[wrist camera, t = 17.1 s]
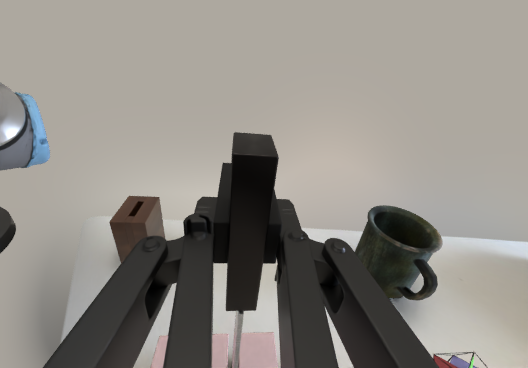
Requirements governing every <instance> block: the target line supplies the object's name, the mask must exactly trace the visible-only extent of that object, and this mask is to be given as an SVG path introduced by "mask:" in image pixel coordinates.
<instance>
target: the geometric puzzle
mask: <svg viewBox="0 0 528 368" xmlns="http://www.w3.org/2000/svg"><path fill="white" fill-rule="evenodd" d="M467 353H473V355H472V358H471V362H470V364H469V363H467V362H466V361H464V360H462V359H460V358H458V357H456V356H454V355H453V356H452V357H451V358H452V359H451V358H450V359H451V362H450V363H449V361H450V359H449V360H448V362H447V361H445V360H444V359H442V358H440V357H438V356H436V355H435V354H434V353H433V355H434V357H433V359H434V361H435V362H436V364H437V365H438V366H439V368H477V367H475V366H473V359H474V353H475V351H473V352H464V354H467ZM444 354H450V353H443V354H437V355H444ZM475 354H476V353H475ZM457 355H460V354H457ZM478 358H479V357H478ZM479 359H480V358H479ZM480 360H481V359H480ZM481 361H482V360H481ZM482 362H483V361H482ZM483 363H484V362H483ZM484 365H485V364H484ZM485 366H486V365H485Z"/></svg>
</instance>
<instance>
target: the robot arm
mask: <svg viewBox="0 0 528 368" xmlns="http://www.w3.org/2000/svg"><path fill="white" fill-rule="evenodd" d="M46 138H47V137H46V132H45V129H44V125H43V122H42V118H41V115H40V112H39V109H38V106H37V104H36V102H35V100H34V99H33V97H31V96H30V95H28V94H21V93H17V92H15V93H14V92H13V91H11V90H10V89H9V88H8V87H6V86H5V85H3V84H2V83H0V170H7V169H13V168H19V167H20V168H27V167H30V166H32V165H37V164H42V163H45V162H46V161H48V159H49V157H50V150H49V145H48V141H47V139H46ZM231 164H232V163H223V165H222V172H221V178H220V184H219V191H218V197H202V198H201V199H200V200H198V201H197V205H196V209H195V213H194V214H192V215H189V216H188V217H187V218H186V219H185V220H184V222H183V223H184V236H183V237H181V238H179V239H175V240H171V241H166V239H165V238H163V237H161V236H149V237H145V238H143V239H141V240H140V241H139V242H138V243H137V244H136V245H135V246H134V248H133V249H132V250H131V252H130V253H129V254H128V256H127V257H126V258H125V260H124V261H123V262H122V264H121V265H120V266H119V268H118V269H117V270H116V272H115V273H114V274H113V275H112V277H111V278H110V279H109V281H108V282H107V283H106V285H105V286H104V287H103V289H102V290H101V291H100V293H99V294H98V295H97V297H96V298H95V299H94V301H93V302H92V303H91V305H90V306H89V307H88V309H87V310H86V311H85V313H84V314H83V315H82V317H81V318H80V319H79V320H78V322H77V323H76V324H75V326H74V327H73V328H72V330H71V331H70V332H69V334H68V335H67V336H66V338H65V339H64V340H63V342H62V343H61V344H60V346H59V347H58V348H57V350H56V351H55V352H54V354H53V355H52V356H51V358H50V359H49V360H48V362H47V363H46V364H45V366H44V367H43V368H133V366H134V364H135V362H136V360H137V358H138V356H139V354H140V351H141V349H142V347H143V345H144V343H145V341H146V339H147V337H148V334H149V332H150V330H151V328H152V326H153V324H154V322H155V320H156V317H157V315H158V313H159V311H160V309H161V307H162V305H163V303H164V300H165V298H166V296H167V294H168V292H169V290H170V288H171V285H172V284H174V283H177V285H176V291H175V297H174V303H173V309H172V315H171V321H170V327H169V334H168V340H167V346H166V352H165V358H164V364H163V368H212V332H213V262H214V263H228V239H229V214H230V189H231ZM276 257H277V263H278V265H277V270H276V275H275V280H274V281H277V296H278V317H279V338H280V359H281V368H339V367H338V363H337V359H336V354H335V350H334V345H333V341H332V337H331V332H330V328H329V324H328V319H327V315H326V311H325V307H326V309H327V312H328V314H329V316H330V318H331V320H332V322H333V324H334V326H335V328H336V330H337V333H338V335H339V337H340V339H341V341H342V343H343V345H344V347H345V349H346V351H347V354H348V356H349V358H350V360H351V362H352V364H353V366H354V368H439V366H438V365H437V364H436V362H435V361H434V359H433V358H432V357H431V355H430V354H429V353H428V351H427V350H426V349H425V347H424V346H423V345H422V343H421V342H420V341H419V339H418V338H417V336H416V335H415V334H414V332H413V331H412V330H411V328H410V327H409V326H408V324H407V323H406V322H405V320H404V319H403V317H402V316H401V315H400V313H399V312H398V311H397V309H396V308H395V307H394V305H393V304H392V303H391V301H390V300H389V299H388V297H387V296H386V294H385V293H384V292H383V290H382V289H381V288H380V286H379V285H378V284H377V282H376V281H375V280H374V278H373V277H372V275H371V274H370V273H369V271H368V270H367V269H366V267H365V266H364V265H363V263H362V262H361V261H360V259H359V258H358V257H357V255H356V254H355V252H354V251H353V250H352V248H351V247H350V246H349V245H348V244H347V243H346V242H344V241H343V240H340V239H337V238H330V239H327V240H326V241H325V244H324V243H320V242H316V241H313V240H311V239H309V237H308V235H307V234H306V233H305V232H304V231H302V229H301V226H300V223H299V220H298V217H297V215H296V212H295V208H294V205H293V204H292V203H291V202H290V201H289V200H286V199H276V195H275V190H274V192H273V199H272V206H271V213H270V219H269V226H268V233H267V240H266V246H265V253H264V260H263V263H275V262H276ZM324 305H325V306H324Z"/></svg>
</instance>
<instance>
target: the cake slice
mask: <svg viewBox="0 0 528 368" xmlns="http://www.w3.org/2000/svg"><path fill="white" fill-rule="evenodd" d="M238 368H278V365H277V357H276V348H275V339H274V332H266V333H241V343H240V352H239V362H238Z"/></svg>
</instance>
